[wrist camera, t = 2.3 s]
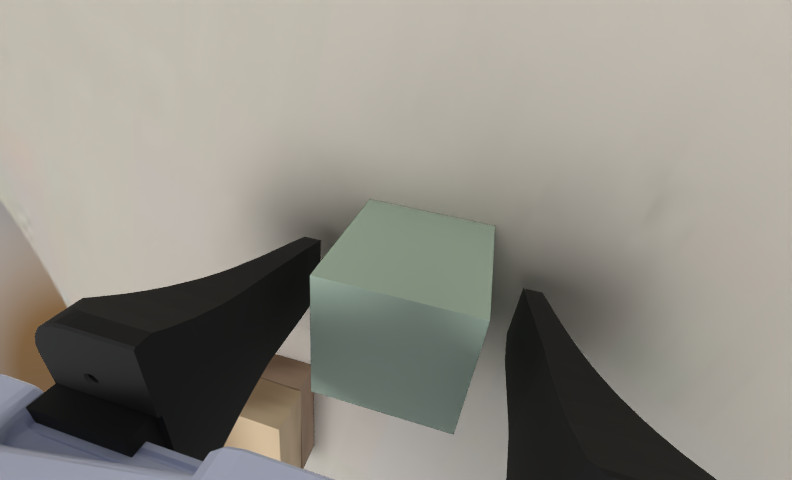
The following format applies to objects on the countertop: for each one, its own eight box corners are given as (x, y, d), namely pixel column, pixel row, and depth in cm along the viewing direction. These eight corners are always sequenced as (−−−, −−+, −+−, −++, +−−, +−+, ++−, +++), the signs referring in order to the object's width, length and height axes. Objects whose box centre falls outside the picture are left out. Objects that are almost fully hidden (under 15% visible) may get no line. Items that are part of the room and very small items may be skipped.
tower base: (317, 357, 19) (299, 389, 18) (317, 436, 23) (302, 469, 21) (198, 323, 20) (170, 350, 19) (216, 404, 24) (194, 432, 22)
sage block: (495, 225, 13) (490, 320, 9) (467, 321, 15) (453, 434, 11) (370, 198, 14) (309, 275, 9) (362, 294, 16) (311, 390, 12)
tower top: (301, 391, 18) (279, 429, 16) (300, 470, 21) (283, 509, 20) (171, 348, 19) (138, 380, 17) (192, 431, 22) (166, 464, 21)
